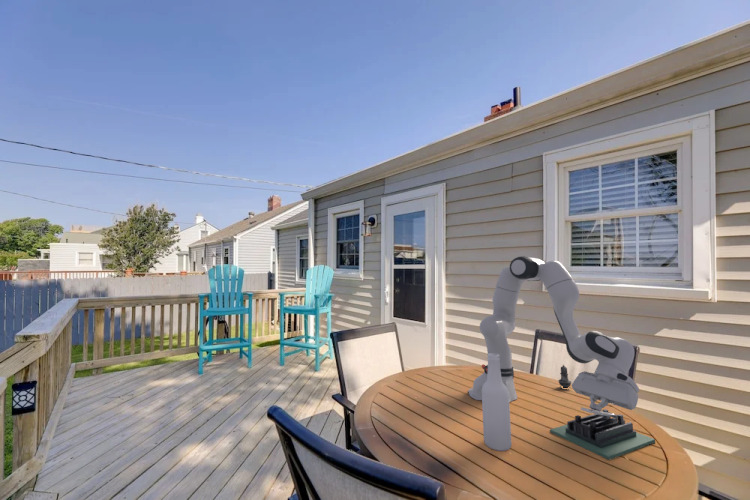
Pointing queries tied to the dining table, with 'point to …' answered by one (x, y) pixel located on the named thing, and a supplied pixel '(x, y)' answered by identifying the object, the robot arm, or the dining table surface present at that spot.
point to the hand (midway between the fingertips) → (594, 409)
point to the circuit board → (607, 451)
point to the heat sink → (600, 429)
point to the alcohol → (496, 408)
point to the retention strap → (599, 412)
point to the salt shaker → (564, 378)
